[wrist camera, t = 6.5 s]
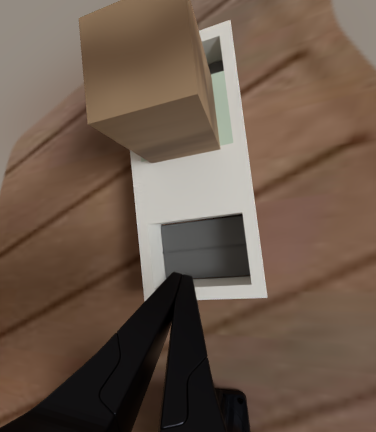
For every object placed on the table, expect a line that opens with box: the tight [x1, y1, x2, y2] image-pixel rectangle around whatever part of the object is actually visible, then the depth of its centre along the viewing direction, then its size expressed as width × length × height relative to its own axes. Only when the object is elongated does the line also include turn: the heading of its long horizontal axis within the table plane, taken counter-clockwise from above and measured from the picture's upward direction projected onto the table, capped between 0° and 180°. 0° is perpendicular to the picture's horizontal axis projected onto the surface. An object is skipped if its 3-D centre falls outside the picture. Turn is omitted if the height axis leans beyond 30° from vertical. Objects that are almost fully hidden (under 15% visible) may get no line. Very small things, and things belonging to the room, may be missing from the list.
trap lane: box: [130, 20, 267, 301], centre depth 20 cm, size 22×10×3 cm, turn 7°
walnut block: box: [79, 0, 220, 163], centre depth 15 cm, size 6×6×8 cm
